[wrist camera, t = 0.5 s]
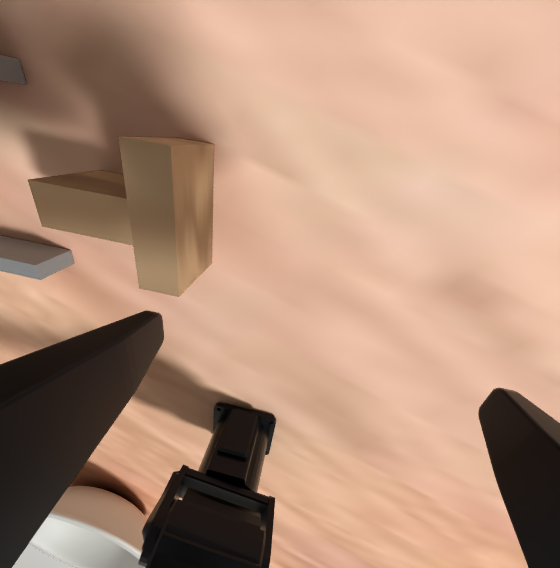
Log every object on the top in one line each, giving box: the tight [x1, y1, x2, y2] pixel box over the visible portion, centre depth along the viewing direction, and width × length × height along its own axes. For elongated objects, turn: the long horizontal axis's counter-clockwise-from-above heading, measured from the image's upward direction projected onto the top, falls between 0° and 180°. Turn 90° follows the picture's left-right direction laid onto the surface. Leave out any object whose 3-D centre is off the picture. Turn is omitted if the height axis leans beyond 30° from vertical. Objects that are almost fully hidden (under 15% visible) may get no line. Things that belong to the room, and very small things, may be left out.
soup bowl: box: [29, 486, 147, 568], centre depth 43 cm, size 24×24×7 cm
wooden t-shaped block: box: [28, 137, 214, 297], centre depth 16 cm, size 8×8×5 cm
